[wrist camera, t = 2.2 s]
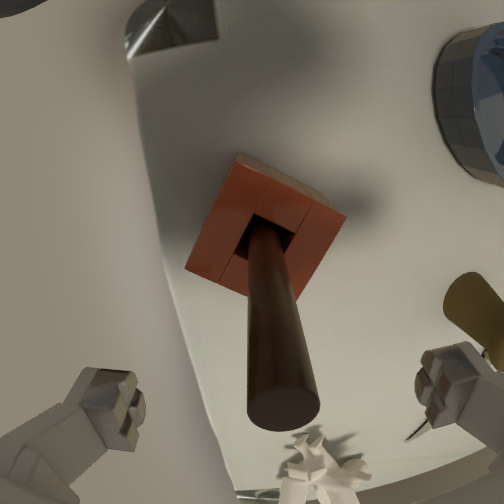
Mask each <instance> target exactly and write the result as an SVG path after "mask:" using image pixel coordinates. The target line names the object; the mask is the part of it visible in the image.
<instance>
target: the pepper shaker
mask: <svg viewBox="0 0 504 504" xmlns="http://www.w3.org/2000/svg"><path fill="white" fill-rule="evenodd" d="M443 310H444V313H445V316H446V317H447V318H448V319H449V320H450V321H452V322H453V323H454V324H455V325H457V326H458V327H459V328H460V329H462V330H463V331H464V332H465V333H467V334H468V335H469V336H470V337H472V338H473V339H474V340H475V341H477V342H478V343H479V344H480V345H481V346H483V347H484V348H485V349H486V350H488V357H489V360H490V362H491V364H492V365H493V366H494V367H495V369H497V370H498V371H500V372H504V302H503V301H502V300H501V298H500V297H499V296H498V295H497V293H496V292H495V291H494V290H493V289H492V288H491V286H490V285H489V284H488V283H487V282H486V281H485V279H484V278H483V277H482V276H481V275H480V274H478V273H476V272H469V273H466V274H464V275H462V276H461V277H459V278H458V279H457V280H456V281H455V282H454V283H453V284H452V285H451V286H450V288H449V290H448V292H447V293H446V296H445V299H444V305H443Z"/></svg>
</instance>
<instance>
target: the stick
mask: <svg viewBox="0 0 504 504" xmlns="http://www.w3.org/2000/svg"><path fill="white" fill-rule="evenodd" d="M319 409H320V400H319V395H318V391H317V387H316V382H315V378H314V374H313V369H312V365H311V361H310V357H309V353H308V349H307V344H306V340H305V336H304V332H303V328H302V324H301V320H300V316H299V312H298V308H297V304H296V300H295V296H294V292H293V288H292V284H291V281H290V277H289V273H288V269H287V265H286V261H285V257H284V254H283V250H282V246H281V242H280V239H279V235H278V231H277V227H276V224H275V223H273V222H271V221H269V220H267V219H265V218H263V217H261V216H259V215H256V214H255V213H254V214H253V216H252V218H251V220H250V222H249V224H248V329H247V414H248V417H249V419H250V420H251V421H252V422H253V423H254V424H255V425H256V426H258V427H260V428H262V429H265V430H269V431H276V432H283V431H291V430H295V429H298V428H301V427H303V426H305V425H307V424H308V423H310V422H311V421H312V420H313V419H314V418H315V417H316V416H317V414H318V412H319Z"/></svg>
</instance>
